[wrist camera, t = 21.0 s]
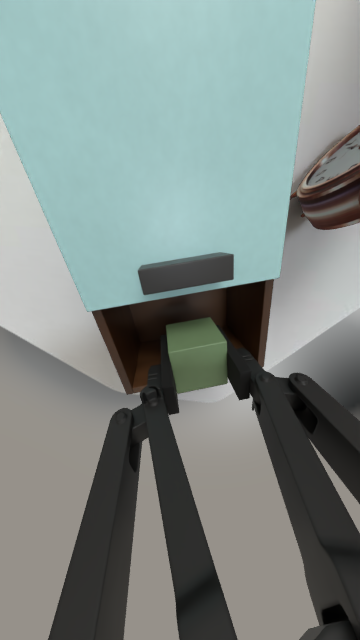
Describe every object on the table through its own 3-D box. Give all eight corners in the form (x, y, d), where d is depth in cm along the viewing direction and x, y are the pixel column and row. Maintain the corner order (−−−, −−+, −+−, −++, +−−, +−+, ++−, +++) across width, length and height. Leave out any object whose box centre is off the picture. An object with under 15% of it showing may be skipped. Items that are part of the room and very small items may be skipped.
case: (137, 344, 27) (126, 394, 18) (109, 255, 21) (71, 265, 12) (229, 327, 28) (263, 367, 19) (229, 236, 22) (279, 231, 13)
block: (173, 360, 18) (177, 394, 14) (165, 324, 16) (168, 352, 12) (212, 352, 18) (227, 383, 14) (210, 316, 16) (227, 341, 12)
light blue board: (89, 309, 13) (72, 326, 11) (-35, 18, 7) (-151, -117, 4) (275, 276, 14) (302, 284, 11) (309, -13, 8) (388, -147, 5)
